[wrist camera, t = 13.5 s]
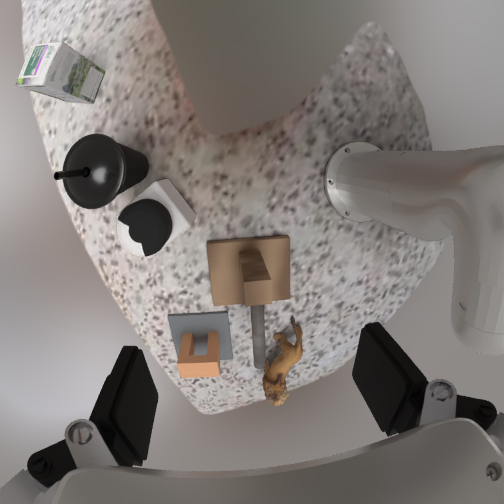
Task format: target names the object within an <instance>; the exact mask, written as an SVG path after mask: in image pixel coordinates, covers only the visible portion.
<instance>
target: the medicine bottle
mask: <svg viewBox="0 0 504 504" xmlns="http://www.w3.org/2000/svg"><path fill="white" fill-rule="evenodd" d="M195 218H196V214H195V213H194V212H193V210H192V209H191V208H190V206H189V205H188V204H187V203H186V201H185V200H184V199H183V197H182V196H181V195H180V193H179V192H178V191H177V190H176V188H175V187H174V186H173V184H172V183H171V182H170V180H169V179H167V178H166V179H162V180H158V181H155V182H153V183H152V184H151V185H150V186H148V187H147V188H146V189H145V190H144V191H143V192H142V193H140V194H139V195H138V196H137V197H136V198H135V199H134V200H133V201H131V202H130V203H129V204H128V205H127V206H126V207H125V208H124V209H123V210H122V211H121V212H119V213H118V214H117V216H116V219H117V225H116V231H117V236H118V239H119V241H120V243H121V244H122V246H123V247H124V248H125V249H126V250H127V251H128V252H130V253H132V254H134V255H136V256H142V257H147V258H148V259H151V258H152V257H154V256H155V255H156V254H157V253H159V252H160V251H161V250H162V249H164V248H165V247H166V246H167V245H169V244H170V243H171V242H172V241H174V240H175V239H176V238H177V237H179V236H180V235H181V234H183V233H184V232H185V231H186V230H188V229H189V228H190V227H191V225H192V223H193V221H194V220H195Z"/></svg>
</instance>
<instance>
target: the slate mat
mask: <svg viewBox="0 0 504 504" xmlns="http://www.w3.org/2000/svg"><path fill="white" fill-rule="evenodd" d="M168 320H169V325H170V329H171V333H172V337H173V341H174V345H175V349H176V353H177V357H178V356H179V351H180V346H181V341H182V336H183V333H192V334H193V339H194V344H195V351H194V355H207V346H208V332H213V331H218V335H219V342H220V360H227V359H233V355H232V347H231V338H230V329H229V320H228V311H222V312H208V313H191V314H171V315H168Z"/></svg>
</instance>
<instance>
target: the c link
mask: <svg viewBox="0 0 504 504" xmlns="http://www.w3.org/2000/svg"><path fill="white" fill-rule="evenodd" d="M194 351H195V344H194V339H193V334H192V333H183V336H182V341H181V346H180V351H179V356H178V361H177V365H178V369H179V372H180V376H181V378H191V377H215V376H220V342H219V335H218V331H213V332H208V346H207V355H194Z"/></svg>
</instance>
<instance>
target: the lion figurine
mask: <svg viewBox="0 0 504 504" xmlns="http://www.w3.org/2000/svg"><path fill="white" fill-rule="evenodd" d="M291 324H292V325H293V328H294V330H295V333H296V338H297V340H296V343H295V345H293V344H291V343H290V342H288V341H287V340H286V338H285V335H282V334H275V335H274V336H273V337H274V339H275V340H279V339H280V348H281V351H282V354H280V355H279V356H277V357H276V358H275V360H274V361H273V363H272V365H271V367H270V366H269V361H268V360H267V359H266V366H265V367H264V371H265V375H264V377H263V378H262V380H263V389H264V391H265V396H266V399H267V401H269V402H270V403H272V404H274V405H275V406H277V405H281V404H283V403H284V400H285V399H286V398H288V397H289V394H288V392H287V387H286V380H285V377H286V375H287V373H288V372H289V370H290V369H291V367H292V366H293V365H294V364H295V363H297V362H298V361H299V360H300V359H301V356H302V354H303V348H302V335H303V332H302V329H301V327H300V326H297V327H296V325H295V320H294V317H292V318H291Z"/></svg>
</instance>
